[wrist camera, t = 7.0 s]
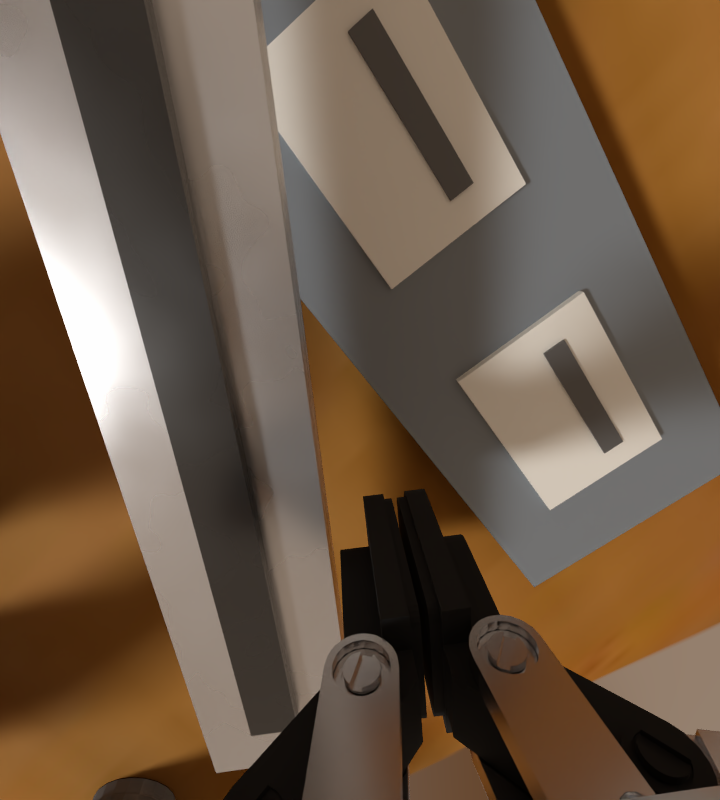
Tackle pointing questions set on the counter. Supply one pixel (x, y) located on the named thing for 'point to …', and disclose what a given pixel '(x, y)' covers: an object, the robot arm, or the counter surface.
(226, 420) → the swing arm
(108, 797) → the beverage cup
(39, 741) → the counter surface
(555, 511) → the label board
